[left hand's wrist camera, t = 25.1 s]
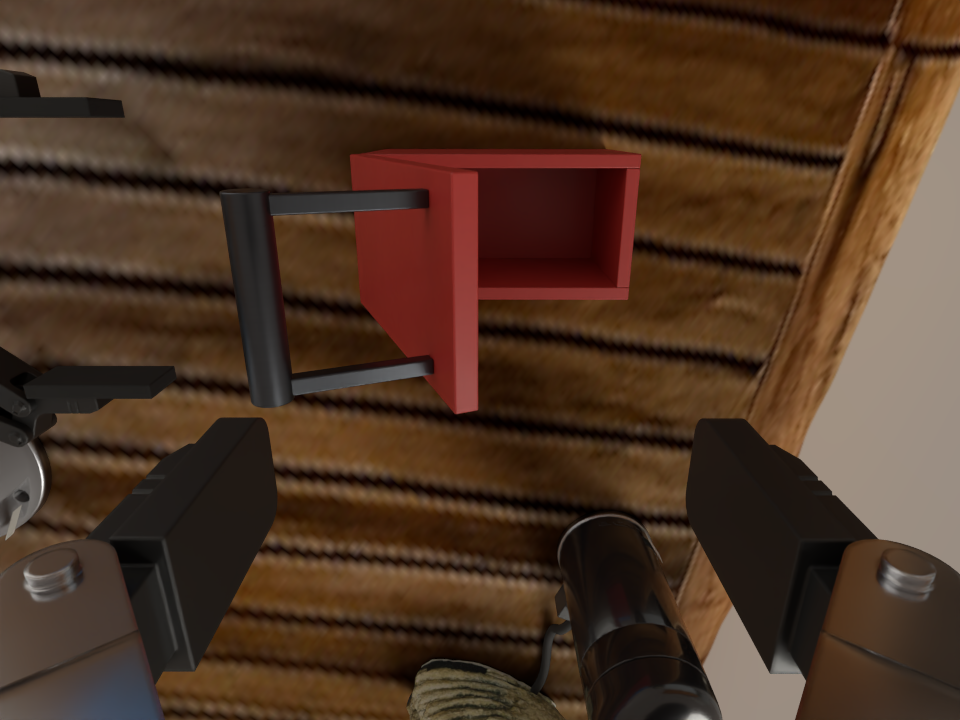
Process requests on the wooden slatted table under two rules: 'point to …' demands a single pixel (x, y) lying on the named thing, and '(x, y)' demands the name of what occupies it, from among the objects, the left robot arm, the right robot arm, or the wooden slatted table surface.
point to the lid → (370, 278)
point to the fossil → (474, 694)
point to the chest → (548, 219)
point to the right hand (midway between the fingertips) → (138, 256)
